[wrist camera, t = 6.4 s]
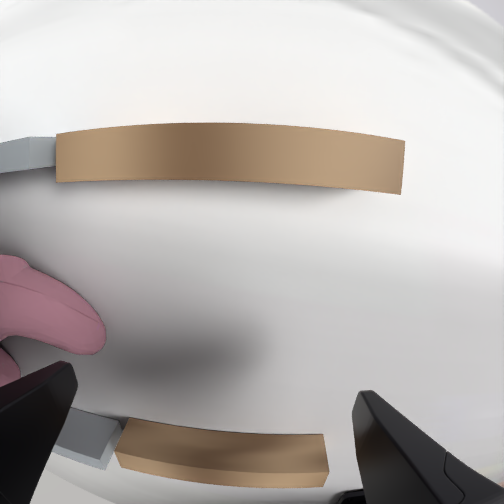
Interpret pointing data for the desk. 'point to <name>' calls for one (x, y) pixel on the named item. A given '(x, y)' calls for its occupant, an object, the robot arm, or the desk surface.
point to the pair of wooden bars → (229, 169)
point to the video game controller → (43, 314)
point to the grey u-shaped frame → (77, 422)
